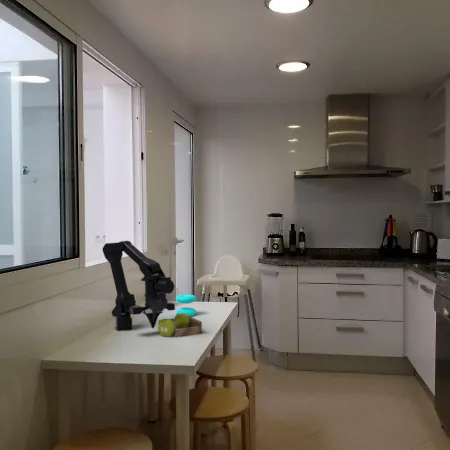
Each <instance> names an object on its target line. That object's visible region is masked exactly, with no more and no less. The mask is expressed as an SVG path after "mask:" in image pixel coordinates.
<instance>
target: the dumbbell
mask: <svg viewBox="0 0 450 450" xmlns="http://www.w3.org/2000/svg"><path fill="white" fill-rule="evenodd" d="M171 319H172V318H163V319H160V320H161V321H160V323H159V322H158V325H157V331H158V332H159V334H160V336H161V337H164V336H165V337H166V338H170V337H172V336H173V335H174V334H175V329H182V328H188V327H189V325H190V319H189V317H188V315H187V314H185V313H178V314H175V316H174V320H173V321H172V320H171Z"/></svg>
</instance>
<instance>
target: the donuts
mask: <svg viewBox="0 0 450 450" xmlns="http://www.w3.org/2000/svg"><path fill="white" fill-rule="evenodd" d="M196 299H197V297H196V296H195V295H193V294H186V293H185V294H179V295H176V297H175V301H176V302H177V303H179V304H183V305H185V304H192V303H194V302H195V301H196ZM178 313H185V314H187V315H188V316H190V317H194V316H195V315H196V314H197V310H196V309H195V308H193V307H187V306H186V307H180V308H178V309H177V310H176V312H175V315H177V314H178Z"/></svg>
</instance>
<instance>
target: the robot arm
mask: <svg viewBox="0 0 450 450" xmlns="http://www.w3.org/2000/svg"><path fill="white" fill-rule="evenodd" d="M123 252H124V253H125V255H127V256H128V257H129V258H130V259H131V260H132V261H133V262H134V263H136V264H137V266H138V269H139V270H140V272H141V273H142V275H143V277H141V280H140V281H141V282H144V290H145V291H144V297H145V299H144V300H145V303H144V306H140V305H138V304H136V303H137V301H136V297H135V294H133V293H131V292H129V289H128V285H127V281H126V277H125V272H124V268H123V265H122V258H123ZM102 253H103V256H104V259H105V260H106V261H107V262H108V263H109V265H110V270H111V275H112V277H113V278H112V279H113V282H114V287H115V291H116V297H115V300H114V301H115V306H114V308H113V309H112V311H111V315H112V317H113V318H115V326H114V329H115V330H117V331H118V332H120V331H127V330H132V329H133V317H132V315H141V314H143V315H145V316H146V318H147V319H148V323H149V325H150V328H151V329H155V327H156V324H157V320H158V318H159V316H160V315H161V314H163V311H164V310H165V309H166V310H167V311H169V312H170V311H174V310H176V304H175V303H173V302H172V301H168V298H166V299H162V300H161V299H160V294H159V293H166V294H170V295H171V294H172V293H173V292H174V290H175V284H174V281H173V280H171V279H172V278H171V277H170V276H167V277H166V275H165V273H164V271H163V269H162V268H161V264H160V263H159V262H157V260H154V259H152V258H149V257H147V256H146V255H145V254H143V252H141V251H140V250H139V249H138V248H137V247H135V245H134V244H133V243H132V242H131V241H130V240H120V241H119V242H106V243H105V244H104V245H103V247H102Z"/></svg>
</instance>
